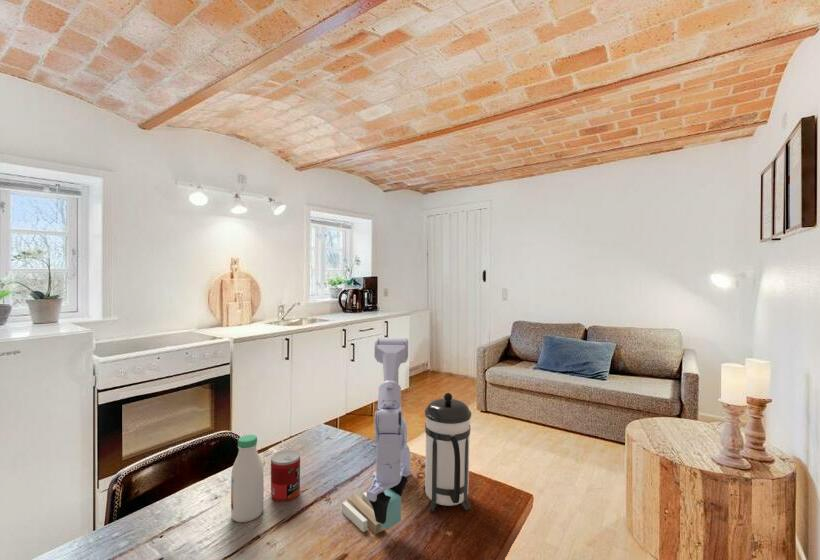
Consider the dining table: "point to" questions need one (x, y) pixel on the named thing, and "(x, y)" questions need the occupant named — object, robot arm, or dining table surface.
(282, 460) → the canned food
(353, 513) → the channel
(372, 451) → the dining table surface
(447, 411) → the coffee press
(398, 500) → the block
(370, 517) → the rod
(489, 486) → the dining table surface
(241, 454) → the milk bottle
